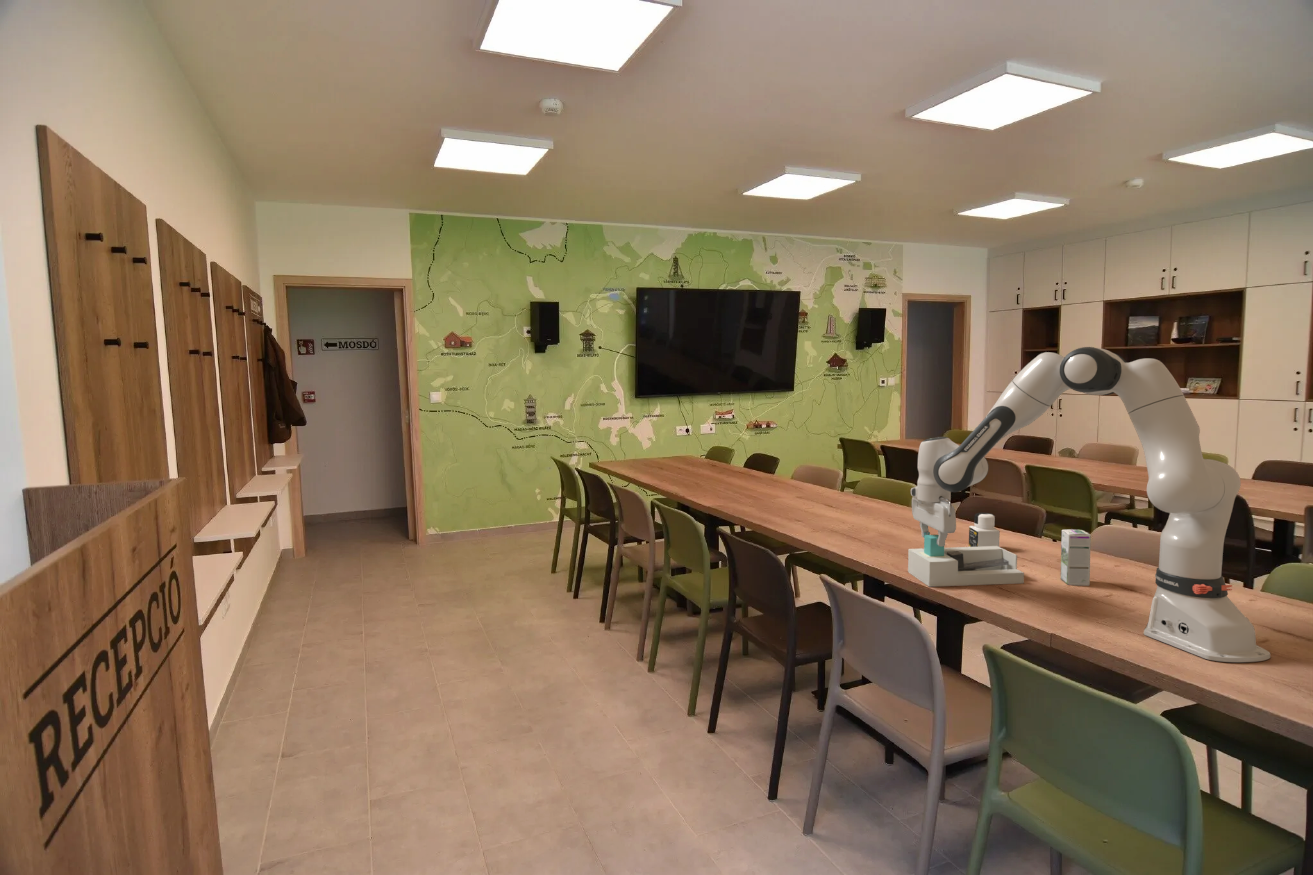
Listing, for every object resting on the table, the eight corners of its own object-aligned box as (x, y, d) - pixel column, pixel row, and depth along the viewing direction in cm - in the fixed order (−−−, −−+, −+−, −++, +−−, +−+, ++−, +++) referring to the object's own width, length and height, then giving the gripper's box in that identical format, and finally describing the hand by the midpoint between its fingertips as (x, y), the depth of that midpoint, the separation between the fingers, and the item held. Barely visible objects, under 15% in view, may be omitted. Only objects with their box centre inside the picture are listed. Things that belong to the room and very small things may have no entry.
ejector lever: (1009, 564, 199) (1007, 547, 198) (953, 572, 198) (952, 555, 197) (1002, 561, 202) (1001, 544, 201) (948, 569, 201) (946, 552, 200)
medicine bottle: (968, 546, 234) (969, 511, 232) (989, 546, 233) (990, 511, 232) (977, 552, 226) (978, 515, 225) (999, 551, 226) (1000, 515, 225)
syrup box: (1090, 586, 190) (1092, 534, 189) (1066, 585, 191) (1068, 533, 190) (1082, 579, 196) (1084, 529, 194) (1059, 579, 197) (1061, 528, 195)
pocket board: (1023, 583, 194) (1024, 558, 193) (929, 586, 192) (929, 561, 191) (996, 568, 208) (997, 545, 207) (908, 572, 206) (908, 548, 205)
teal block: (944, 555, 197) (944, 538, 196) (930, 556, 197) (930, 538, 196) (937, 552, 201) (937, 534, 200) (924, 552, 201) (924, 535, 200)
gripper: (962, 500, 187) (961, 550, 188) (928, 487, 207) (928, 533, 208) (940, 500, 186) (939, 551, 188) (908, 488, 207) (907, 533, 208)
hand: (933, 541), depth 198 cm, fingers open, 8 cm apart
